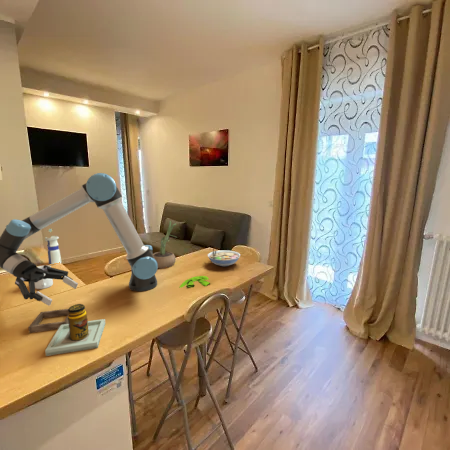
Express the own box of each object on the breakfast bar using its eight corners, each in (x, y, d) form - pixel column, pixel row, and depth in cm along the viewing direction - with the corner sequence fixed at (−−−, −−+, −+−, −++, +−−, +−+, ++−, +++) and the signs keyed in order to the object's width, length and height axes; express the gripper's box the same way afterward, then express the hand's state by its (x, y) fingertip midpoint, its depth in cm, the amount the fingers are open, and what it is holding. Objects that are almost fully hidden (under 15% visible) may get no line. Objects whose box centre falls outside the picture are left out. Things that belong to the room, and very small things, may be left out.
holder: (75, 313, 115) (74, 307, 115) (66, 327, 104) (66, 322, 103) (41, 317, 112) (40, 311, 111) (29, 333, 100) (28, 327, 100)
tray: (105, 323, 106) (104, 318, 106) (97, 347, 91) (97, 342, 91) (61, 329, 102) (61, 324, 102) (46, 356, 87) (45, 350, 87)
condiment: (86, 341, 94) (83, 310, 91) (60, 344, 92) (56, 313, 90) (92, 329, 101) (89, 301, 98) (68, 332, 99) (65, 303, 97)
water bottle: (44, 264, 181) (40, 229, 176) (56, 260, 189) (52, 227, 184) (52, 265, 178) (48, 230, 173) (64, 262, 185) (60, 228, 181)
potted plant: (160, 271, 167) (158, 225, 162) (146, 265, 179) (143, 222, 174) (187, 262, 184) (186, 221, 178) (172, 257, 196) (171, 218, 190)
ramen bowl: (241, 271, 167) (241, 259, 165) (206, 271, 167) (205, 259, 166) (239, 259, 191) (239, 248, 190) (208, 259, 192) (208, 248, 190)
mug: (34, 293, 135) (31, 273, 133) (34, 285, 145) (32, 267, 143) (53, 289, 140) (51, 270, 138) (52, 282, 150) (50, 264, 148)
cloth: (208, 275, 161) (208, 272, 160) (218, 289, 140) (218, 285, 140) (175, 279, 155) (175, 276, 154) (181, 295, 134) (181, 290, 134)
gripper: (44, 263, 118) (83, 286, 118) (-14, 289, 95) (35, 318, 94) (48, 250, 116) (88, 273, 115) (-10, 273, 92) (40, 303, 92)
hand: (64, 294), depth 105 cm, fingers open, 13 cm apart
